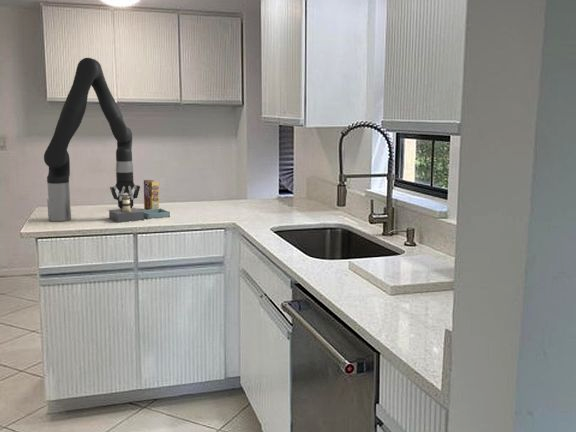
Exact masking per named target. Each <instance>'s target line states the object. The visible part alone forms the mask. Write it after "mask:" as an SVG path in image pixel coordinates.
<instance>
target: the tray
mask: <svg viewBox="0 0 576 432" xmlns="http://www.w3.org/2000/svg"><path fill="white" fill-rule="evenodd" d="M140 210H141V211H143V215H144V219H145V220H146V219H147V220H151V219H152V218H155V219H161V218H163V217H165V218H170V217H171V215H170V214H171V213H170V210H166V209H163V208H160V207H159V209H149V210H144V209H140ZM152 220H153V219H152Z"/></svg>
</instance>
